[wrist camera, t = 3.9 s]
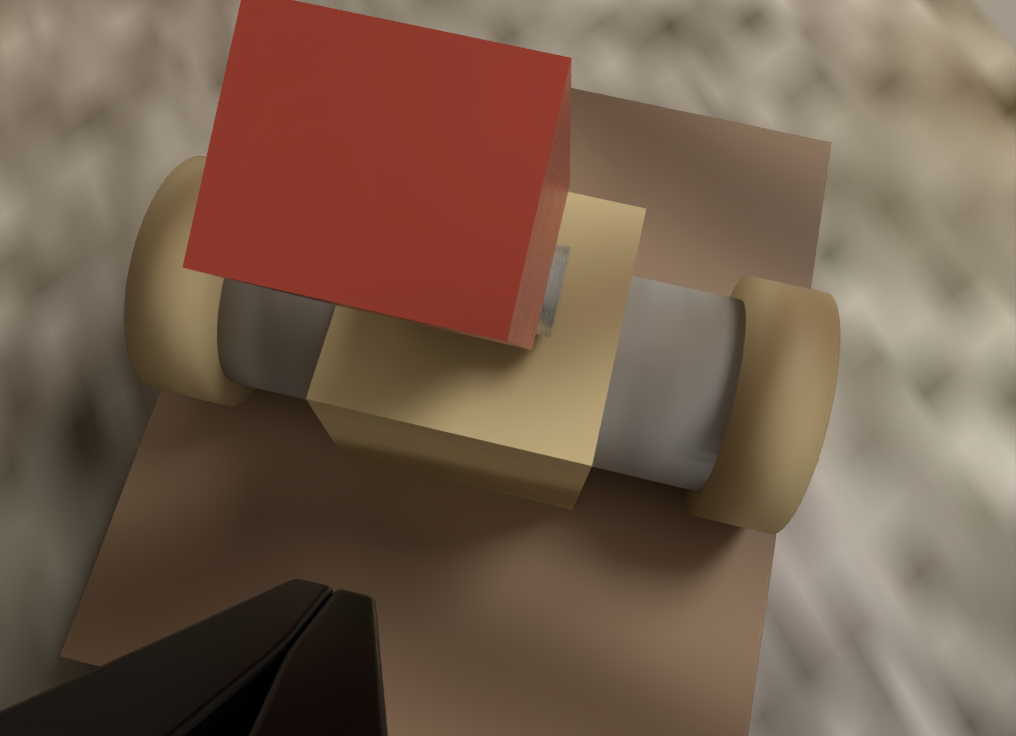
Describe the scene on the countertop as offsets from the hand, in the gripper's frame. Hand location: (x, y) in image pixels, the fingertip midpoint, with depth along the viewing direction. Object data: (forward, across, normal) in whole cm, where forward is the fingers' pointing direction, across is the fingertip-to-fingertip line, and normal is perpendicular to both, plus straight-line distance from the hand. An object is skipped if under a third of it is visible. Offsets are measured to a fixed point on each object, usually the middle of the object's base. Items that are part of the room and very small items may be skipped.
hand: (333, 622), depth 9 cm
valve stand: (+13, 0, -4) cm, 13 cm away
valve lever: (+8, 0, +1) cm, 8 cm away
